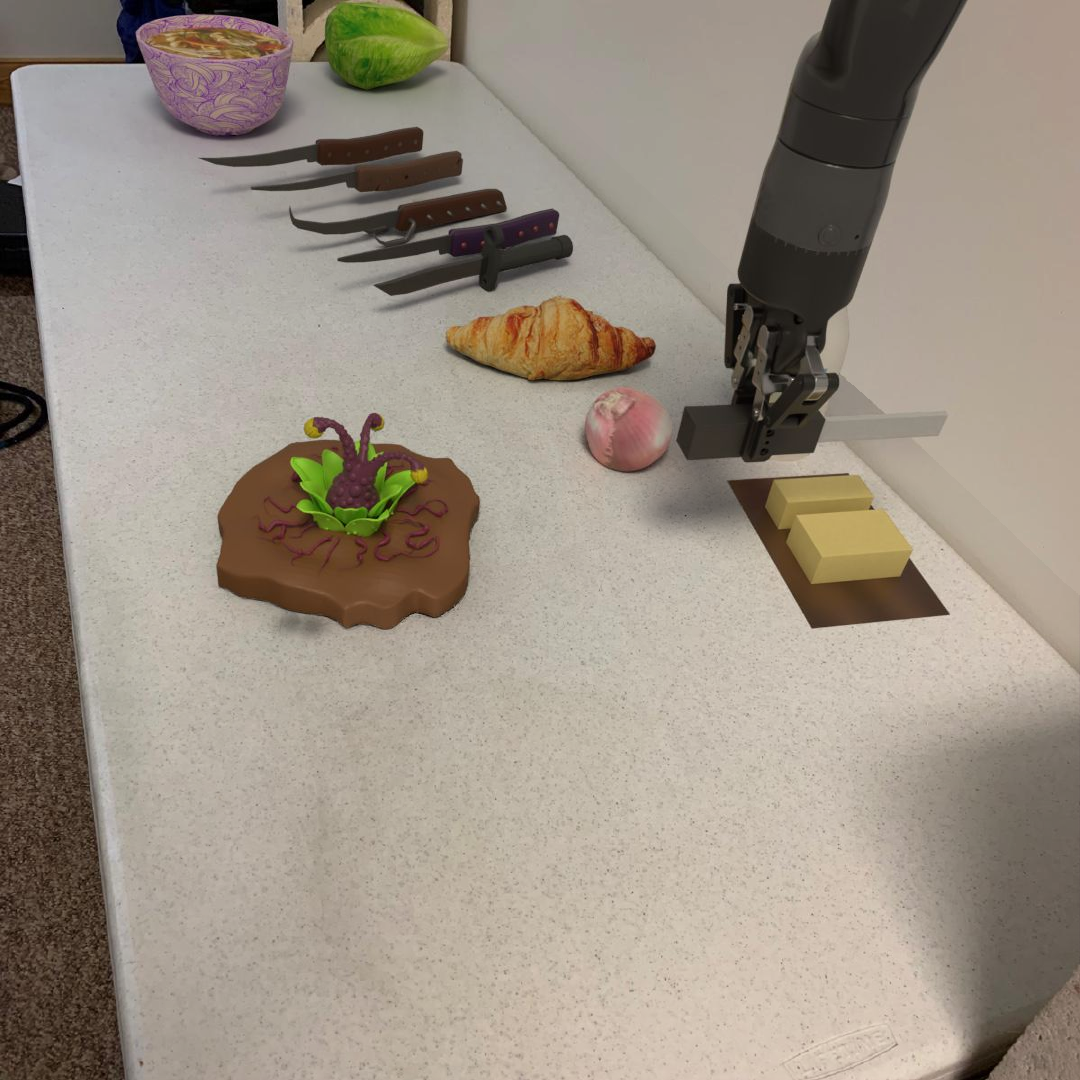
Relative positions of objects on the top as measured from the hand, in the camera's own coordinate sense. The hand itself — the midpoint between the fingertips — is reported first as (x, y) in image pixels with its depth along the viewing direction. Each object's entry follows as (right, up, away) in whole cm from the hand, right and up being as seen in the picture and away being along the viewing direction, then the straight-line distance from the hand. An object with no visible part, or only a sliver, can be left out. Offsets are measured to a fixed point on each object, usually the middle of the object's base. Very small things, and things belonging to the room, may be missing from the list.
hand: (745, 445), depth 72 cm
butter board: (+9, -8, +11) cm, 16 cm away
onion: (-7, 0, +18) cm, 19 cm away
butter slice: (+9, -5, +13) cm, 16 cm away
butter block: (+10, -8, +9) cm, 16 cm away
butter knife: (+5, 0, +1) cm, 6 cm away
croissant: (-14, +11, +29) cm, 34 cm away
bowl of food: (-59, +51, +67) cm, 103 cm away
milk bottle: (+7, +2, +22) cm, 23 cm away
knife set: (-32, +30, +47) cm, 64 cm away
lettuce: (-39, +66, +87) cm, 116 cm away
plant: (-30, -7, +6) cm, 31 cm away
